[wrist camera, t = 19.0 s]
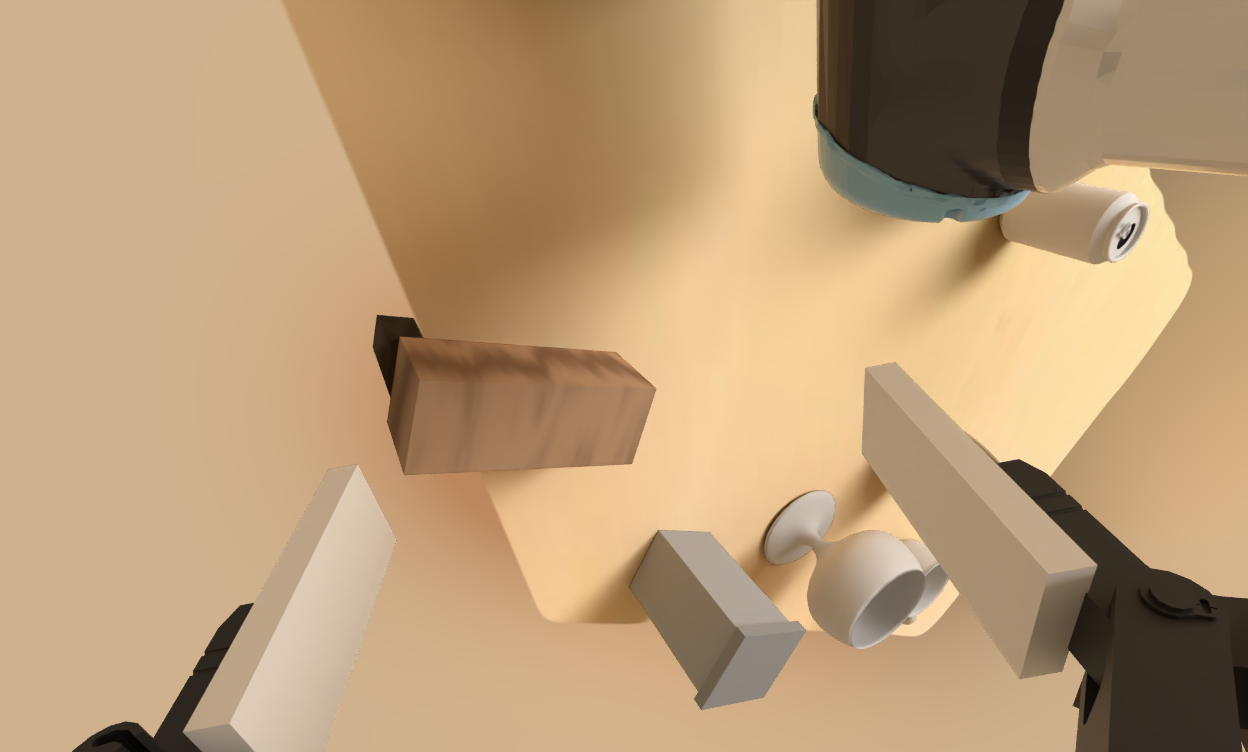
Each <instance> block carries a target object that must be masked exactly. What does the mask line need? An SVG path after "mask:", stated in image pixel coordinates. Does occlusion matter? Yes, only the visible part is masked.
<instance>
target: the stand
mask: <svg viewBox="0 0 1248 752" xmlns="http://www.w3.org/2000/svg"><path fill="white" fill-rule="evenodd" d="M629 587H630V589H631V590H632V592H633V593H634V595H635V596H636V598H637V599H638V601H639V602H640V604H641V605H642V607H643V609H644V610H645V612H646V613H647V615H648V616H649V618H650V619H651V621H652V622H653V624H654V625H655V627H656V628H657V630H658V631H659V632H660V634H661V636H662V637H663V639H664V640H665V642H666V643H667V645H668V646H669V648H670V649H671V651H672V653H673V654H674V655H675V657H676V659H677V660H678V662H679V663H680V665H681V666H682V667H683V669H684V671H685V672H686V674H687V675H688V677H689V678H690V680H691V681H692V683H693V684H694V686H695V687H696V689H697V690H698V693H697V695H696V697H695V698H694V700H695V701H696V703H697V704H698V706H699V707H700V709H701V710H704V709H709V708H714V707H719V706H724V705H729V704H734V703H739V702H744V701H748V700H753V699H759V698H763V697H764V696H765V694H766V693H767V691H768V690H769V688H770V686H771V685H772V684H773V682H774V681H775V679H776V677H777V676H778V674H779V673H780V671H781V670H782V668H783V666H784V665H785V663H786V662H787V660H788V658H789V657H790V655H791V654H792V652H793V651H794V649H795V647H796V646H797V644H798V643H799V641H800V640H801V638H802V637H803V635H804V633H805V632H806V629H805V628H804V627H803V626H802V625H801V624H800V623H799V622H798V621H795V622H789V621H788V620H787V619H786V617H785V616H784V615H783V614H782V613H781V612H780V611H779V610H778V608H777V607H776V606H775V605H774V604H773V603H772V602H771V601H770V599H769V598H768V597H767V596H766V595H765V594H764V593H763V592H762V590H761V589H760V588H759V587H758V586H757V585H756V584H755V583H754V581H753V580H752V579H751V578H750V577H749V576H748V575H747V574H746V572H745V571H744V570H743V569H742V568H741V567H740V566H739V565H738V563H737V562H736V561H735V560H734V559H733V558H732V557H731V556H730V554H729V553H728V552H727V551H726V550H725V549H724V548H723V547H722V546H721V544H720V543H719V542H718V541H717V540H716V539H715V538H714V537H713V535H712V534H711V533H710V532H689V531H668V530H659V531H658V533H657V535H656V537H655V538H654V540H653V542H652V544H651V546H650V548H649V550H648V552H647V554H646V556H645V558H644V560H643V562H642V563H641V565H640V567H639V569H638V571H637V573H636V575H635V577H634V579H633V581H632V583H631V585H630V586H629Z"/></svg>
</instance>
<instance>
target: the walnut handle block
mask: <svg viewBox="0 0 1248 752" xmlns="http://www.w3.org/2000/svg"><path fill="white" fill-rule="evenodd" d="M373 350H374V353H375V356H376V359H377V361H378V364H379V367H380V370H381V373H382V376H383V378H384V381H385V384H386V387H387V390H388V393H389V395H390V398H391V399H390V405H389V412H388V419H387V423H388V426H389V429H390V432H391V436H392V439H393V442H394V445H395V448H396V451H397V454H398V457H399V460H400V464H401V467H402V470H403V473H404V475H416V474H437V473H456V472H457V473H458V472H479V471H499V470H520V469H541V468H562V467H583V466H604V465H624V464H632V462H633V459H634V456H635V453H636V450H637V447H638V444H639V441H640V438H641V435H642V431H643V428H644V425H645V422H646V419H647V416H648V413H649V410H650V407H651V404H652V401H653V398H654V394H655V391H656V388H655V387H654V386H653V385H652V384H651V383H650V382H649V381H647V380H646V379H645V378H644V377H643V376H642V375H641V374H640V373H639V372H637V371H636V370H635V369H634V368H633V367H632V366H631V365H630V364H629V363H628V362H626V361H625V360H624V359H623V358H622V357H621V356H620V355H619V354H618V353H617V352H606V351H592V350H578V349H565V348H551V347H537V346H523V345H509V344H495V343H481V342H467V341H453V340H439V339H425V338H423V335H422V333H421V331H420V329H419V327H418V325H417V323H416V321H415V320H414V318H408V317H397V316H386V315H377V317H376V324H375V332H374V340H373Z"/></svg>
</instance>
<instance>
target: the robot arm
mask: <svg viewBox="0 0 1248 752" xmlns="http://www.w3.org/2000/svg"><path fill="white" fill-rule="evenodd" d="M813 117H814V119H815V125H816V128H817V135H818V157H819V164H820V168H821V169H822V172H823V174H824V176H825V179H826V180H827V181H828V183H829V185H830V186H831V187H832V188H833V189H834V190H835V191H836V192H837V193H838V194H839V195H841V196H842V197H843V198H845V199H847V200H848V201H850V202H851V203H853V204H855V205H857V206H859V207H862V208H864V209H866V210H869V211H872V212H875V213H878V214H881V215H885V216H889V217H893V218H898V219H903V220H909V221H917V222H931V223H939V222H940V221H942V220H943V218H946V217H947V218H951V219H954V220H956V221H959V222H969V221H976V220H982V219H986V218H990V217H993V216H996V215H999V214H1002V213H1005V212H1007V211H1009V210H1011V209H1012V208H1014V207H1015V206H1017V205H1018V204H1020V203H1021V202H1022V201H1023V200H1024V199H1025V198H1026V196H1027V195H1028V194H1029V193H1030V192H1031V191H1035V192H1043V193H1057V192H1060V191H1062V190H1063V189H1065V188H1067V187H1068V186H1070V185H1071V184H1073V183H1075V182H1076V181H1078V180H1080V179H1081V178H1083V177H1085V176H1086V175H1088V174H1090V173H1091V172H1093V171H1095V170H1096V169H1099V168H1102V167H1105V166H1108V165H1119V166H1131V167H1143V168H1155V169H1168V170H1180V171H1191V172H1203V173H1215V174H1227V175H1239V176H1248V0H817V94H816V95H815V97H814V101H813ZM862 454H863V456H864V457H865V459H866V460H867V462H868V463H869V464H870V466H871V467H872V469H873V470H874V472H875V473H876V474H877V476H878V477H879V479H880V480H881V482H882V483H883V485H884V486H885V487H886V489H887V490H888V492H889V493H890V495H891V496H892V497H893V499H894V500H895V502H896V503H897V505H898V506H899V507H900V509H901V510H902V512H903V513H904V515H905V516H906V517H907V519H908V520H909V522H910V523H911V525H912V526H913V527H914V529H915V530H916V532H917V533H918V535H919V536H920V537H921V539H922V540H923V542H924V543H925V545H926V546H927V547H928V549H929V550H930V552H931V553H932V555H933V556H934V557H935V559H936V560H937V562H938V563H939V565H940V566H941V567H942V569H943V570H944V572H945V573H946V575H947V576H948V577H949V579H950V580H951V582H952V583H953V585H954V586H955V587H956V589H957V590H958V592H959V593H960V594H961V596H962V597H963V599H964V600H965V602H966V603H967V605H968V606H969V607H970V609H971V610H972V612H973V613H974V615H975V616H976V617H977V619H978V620H979V622H980V623H981V625H982V626H983V628H984V629H985V630H986V632H987V633H988V635H989V636H990V638H991V639H992V640H993V642H994V643H995V645H996V646H997V648H998V649H999V650H1000V652H1001V653H1002V655H1003V656H1004V658H1005V659H1006V660H1007V662H1008V663H1009V665H1010V666H1011V668H1012V669H1013V670H1014V672H1015V673H1016V675H1017V676H1018V678H1019V679H1023V678H1029V677H1034V676H1039V675H1045V674H1051V673H1057V672H1062V670H1063V668H1064V664H1065V662H1066V658H1067V655H1068V652H1069V651H1070V652H1071V653H1072V654H1073V655H1074V657H1075V658H1076V659H1077V660H1078V661H1079V663H1080V664H1081V665H1082V666H1083V668H1084V669H1085V670H1086V671H1085V674H1084V676H1083V679H1082V682H1081V685H1080V688H1079V690H1078V693H1077V695H1076V698H1075V701H1074V704H1073V706H1074V707H1077V708H1079V719H1078V730H1077V741H1076V752H1242V744H1243V746H1244V748H1245V750H1246V752H1248V599H1246V598H1234V597H1222V596H1216V595H1212V594H1211V593H1210V592H1209V591H1207V590H1206V589H1204V588H1203V587H1201V586H1200V585H1198V584H1196V583H1195V582H1193V581H1192V580H1190V579H1187V578H1185V577H1182V576H1180V575H1177V574H1174V573H1172V572H1169V571H1163V570H1157V569H1152V568H1149V567H1148V566H1147V565H1145V564H1144V563H1143V562H1142V561H1141V560H1140V559H1139V558H1138V557H1137V556H1136V555H1135V554H1133V553H1132V552H1131V551H1130V550H1129V549H1128V548H1127V547H1126V546H1125V545H1124V544H1122V543H1121V542H1120V541H1119V540H1118V539H1117V538H1116V537H1115V536H1114V535H1113V534H1112V533H1111V532H1110V531H1108V530H1107V529H1106V528H1105V527H1104V526H1103V525H1102V524H1101V523H1100V522H1099V521H1098V520H1096V519H1095V518H1094V517H1093V516H1092V515H1091V514H1090V513H1089V512H1088V511H1087V510H1083V509H1082V506H1081V505H1080V504H1079V503H1078V502H1077V501H1076V500H1075V499H1074V498H1073V497H1071V496H1070V495H1067V494H1066V492H1065V490H1064V489H1063V488H1061V487H1060V486H1059V485H1058V484H1057V483H1056V482H1055V481H1054V480H1053V479H1052V478H1051V477H1050V476H1049V475H1047V474H1046V473H1045V472H1043V471H1041V470H1039V469H1037V468H1035V467H1033V466H1031V465H1029V464H1027V463H1025V462H1024V461H1022V460H1020V459H1017V460H1012V461H1006V462H1001V463H995V462H994V461H993V460H992V459H991V458H990V457H989V456H988V455H987V454H986V453H985V452H984V451H983V450H982V449H981V448H980V447H979V446H978V445H977V444H976V443H975V442H974V441H973V440H972V439H971V438H970V437H969V436H968V435H967V434H966V433H965V432H964V431H963V430H962V429H961V428H960V427H959V426H958V425H957V424H956V423H955V422H954V421H953V420H952V419H951V418H950V417H949V416H948V415H947V414H946V413H945V412H944V411H943V410H942V409H941V408H940V407H939V406H938V405H937V404H936V403H935V402H934V401H933V400H932V399H931V398H930V397H929V396H928V395H927V394H926V393H925V392H924V391H923V390H922V389H921V388H920V387H919V386H918V385H917V384H916V383H915V382H914V381H913V380H912V379H911V378H910V377H909V375H908V374H907V373H906V372H905V371H904V370H903V369H902V368H901V367H900V366H899V365H898V364H897V363H896V362H893V363H888V364H883V365H877V366H872V367H867V368H865V384H864V410H863V435H862ZM396 541H397V540H396V538H395V536H394V535H393V532H392V531H391V529H390V527H389V525H388V523H387V521H386V519H385V517H384V515H383V513H382V511H381V509H380V507H379V505H378V503H377V502H376V499H375V497H374V495H373V493H372V491H371V489H370V488H369V485H368V483H367V482H366V480H365V478H364V476H363V474H362V472H361V470H360V468H359V466H358V464H355V465H349V466H344V467H339V468H334V469H329V470H328V471H327V473H326V475H325V477H324V478H323V480H322V482H321V484H320V486H319V487H318V489H317V491H316V493H315V495H314V496H313V498H312V500H311V502H310V504H309V505H308V507H307V509H306V511H305V513H304V515H303V517H302V518H301V520H300V522H299V523H298V525H297V527H296V529H295V531H294V533H293V534H292V536H291V538H290V540H289V542H288V543H287V545H286V547H285V549H284V550H283V552H282V554H281V556H280V558H279V560H278V562H277V563H276V565H275V567H274V569H273V570H272V572H271V574H270V576H269V578H268V579H267V581H266V583H265V585H264V587H263V588H262V590H261V592H260V594H259V596H258V597H257V599H256V601H255V603H251V604H245V605H240V606H239V607H238V608H237V609H236V610H235V611H234V612H233V614H231V616H229V618H228V619H227V620H226V621H225V622H224V623H223V624H222V625H221V626H220V627H219V628H218V630H217V631H216V633H215V635H214V636H213V638H212V640H211V641H210V643H209V645H208V647H207V648H206V650H205V655H204V656H202V657H201V658H200V660H199V662H198V663H197V665H196V667H195V668H194V670H193V676H190V677H189V679H188V680H187V682H186V684H185V686H184V687H183V689H182V690H181V692H180V694H179V696H178V697H177V699H176V701H175V702H174V704H173V706H172V708H171V709H170V711H169V713H168V714H167V716H166V718H165V719H164V721H163V723H162V725H161V726H160V728H159V729H158V731H157V733H156V734H155V736H154V738H153V737H151V736H150V735H149V734H148V733H147V732H146V731H145V730H144V729H143V728H142V727H141V726H140V725H139V724H138V723H132V722H122V723H119V724H115V725H111V726H109V727H107V728H105V729H103V730H102V731H100V732H98V733H96V734H94V735H92V736H91V737H89V738H88V739H87V740H86V741H85V742H83V743H82V744H81V745H79V746H78V747H77V748H76V749H74V750H73V751H72V752H324V751H325V748H326V745H327V742H328V740H329V737H330V734H331V731H332V728H333V725H334V722H335V719H336V716H337V713H338V710H339V707H340V705H341V702H342V699H343V695H344V693H345V690H346V687H347V684H348V681H349V678H350V675H351V672H352V669H353V666H354V663H355V661H356V658H357V655H358V652H359V649H360V646H361V643H362V640H363V637H364V634H365V631H366V628H367V625H368V622H369V620H370V617H371V614H372V611H373V607H374V605H375V602H376V599H377V596H378V593H379V590H380V587H381V584H382V582H383V579H384V576H385V573H386V570H387V567H388V564H389V561H390V558H391V555H392V552H393V549H394V546H395V544H396ZM1241 741H1242V744H1241Z"/></svg>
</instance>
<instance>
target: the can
mask: <svg viewBox="0 0 1248 752" xmlns="http://www.w3.org/2000/svg"><path fill="white" fill-rule="evenodd" d="M1149 213H1150V211H1149V206H1148V205H1147V203H1146V202H1139V200H1138V198H1137V197H1136V196H1135V195H1134V194H1133V193H1130V192H1124V191H1119V190H1114V189H1109V188H1103V187H1098V186H1093V185H1087V184H1082V183H1077V182H1075V183H1073V184H1071V185H1070V186H1068V187H1067V188H1065V189H1063V190H1062V191H1060V192H1057V193H1049V194H1043V193H1037V192H1030V193H1029V194H1028V195H1027V196H1026V198H1025V199H1024V200H1023V201H1022V202H1021V203H1020V204H1018V205H1017V206H1015V207H1014V208H1012V209H1011V210H1009V211H1007V212H1005V213H1002V214H1000V218H999V220H1000V227H1001V229H1002V233H1003V235H1004V237H1005V238H1006V239H1008V240H1010V241H1013V242H1017V243H1020V244H1024V245H1027V246H1031V247H1034V248H1038V249H1041V250H1045V251H1049V252H1052V253H1056V254H1059V255H1063V256H1066V257H1070V258H1073V259H1077V260H1080V261H1084V262H1087V263H1091V264H1100V263H1102V262H1105V261H1109V262H1111V263H1113V262H1118V261H1119V260H1121V259H1123V258H1124V257H1125V256H1126V255H1128V254H1129V253H1130V252H1131V250H1132V249H1133V248H1134V247H1135V246H1136V244H1137V242H1138V241H1139V239H1140V238H1141V236H1142V234H1143V232H1144V230H1145V228H1146V225H1147V222H1148V219H1149Z"/></svg>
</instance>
